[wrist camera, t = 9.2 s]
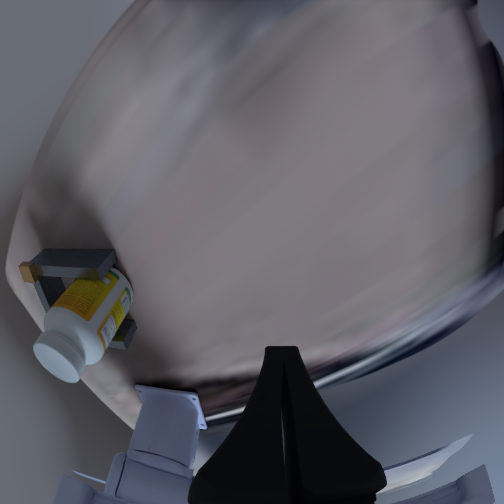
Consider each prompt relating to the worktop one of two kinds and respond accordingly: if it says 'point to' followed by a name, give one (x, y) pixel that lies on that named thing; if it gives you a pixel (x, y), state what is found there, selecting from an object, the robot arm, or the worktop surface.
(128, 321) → the docking mount
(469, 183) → the worktop surface
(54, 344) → the supplement bottle
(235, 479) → the robot arm
